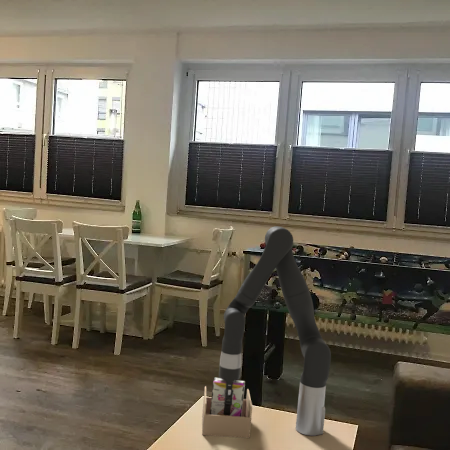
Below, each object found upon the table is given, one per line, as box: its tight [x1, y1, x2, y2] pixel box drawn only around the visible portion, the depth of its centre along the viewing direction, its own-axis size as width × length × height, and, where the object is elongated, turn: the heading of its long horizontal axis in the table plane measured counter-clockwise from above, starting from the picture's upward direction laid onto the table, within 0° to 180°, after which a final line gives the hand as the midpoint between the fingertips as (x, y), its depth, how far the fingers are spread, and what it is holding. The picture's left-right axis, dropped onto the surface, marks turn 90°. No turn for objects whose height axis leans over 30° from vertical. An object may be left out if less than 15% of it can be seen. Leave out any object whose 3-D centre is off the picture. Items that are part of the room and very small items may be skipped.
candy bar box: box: [210, 377, 246, 417], centre depth 200 cm, size 11×5×16 cm, turn 84°
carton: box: [201, 385, 253, 439], centre depth 200 cm, size 16×16×11 cm
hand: (226, 411), depth 200 cm, fingers closed on candy bar box, 5 cm apart
